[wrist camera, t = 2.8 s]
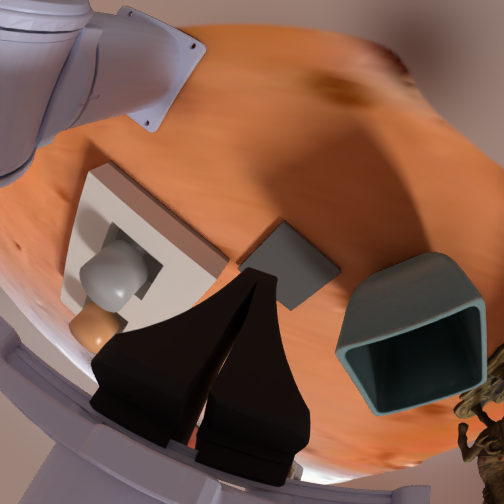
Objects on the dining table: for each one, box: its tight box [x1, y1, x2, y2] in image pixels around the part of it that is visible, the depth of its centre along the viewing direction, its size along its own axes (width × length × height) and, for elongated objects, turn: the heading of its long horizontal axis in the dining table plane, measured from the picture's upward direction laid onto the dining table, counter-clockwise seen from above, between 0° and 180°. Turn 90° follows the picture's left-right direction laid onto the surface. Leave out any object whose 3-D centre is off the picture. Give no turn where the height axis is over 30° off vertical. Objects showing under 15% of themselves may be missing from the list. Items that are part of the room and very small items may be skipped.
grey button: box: [79, 240, 148, 312], centre depth 23 cm, size 5×5×4 cm
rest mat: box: [238, 220, 341, 311], centre depth 23 cm, size 6×6×1 cm
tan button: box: [69, 301, 119, 354], centre depth 29 cm, size 5×5×4 cm
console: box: [60, 161, 230, 334], centre depth 29 cm, size 14×22×3 cm, turn 144°
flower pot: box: [335, 252, 487, 416], centre depth 17 cm, size 9×9×9 cm
